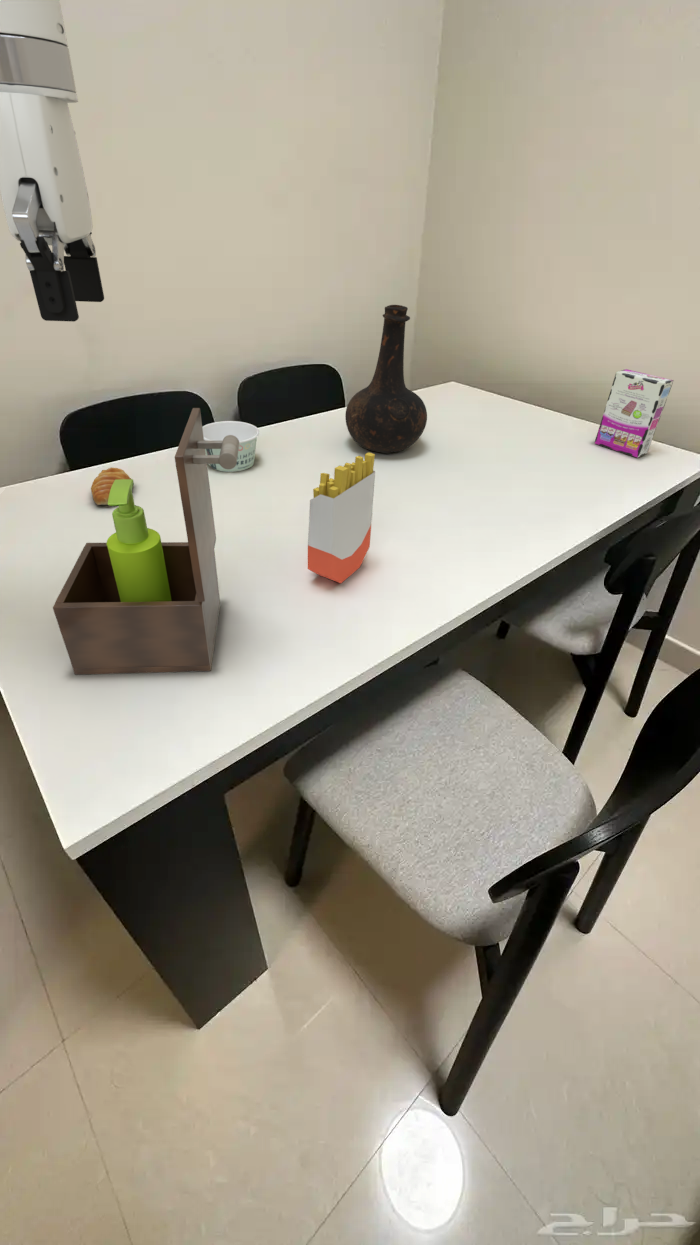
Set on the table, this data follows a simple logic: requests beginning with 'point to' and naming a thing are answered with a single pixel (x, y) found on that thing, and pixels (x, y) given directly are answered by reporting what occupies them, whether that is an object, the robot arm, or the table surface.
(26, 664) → the table surface
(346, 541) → the french fries container
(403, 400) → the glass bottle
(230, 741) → the table surface
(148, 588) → the soap dispenser
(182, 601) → the chest
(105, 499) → the pastry
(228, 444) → the lid
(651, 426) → the candy bar box
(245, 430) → the food container
